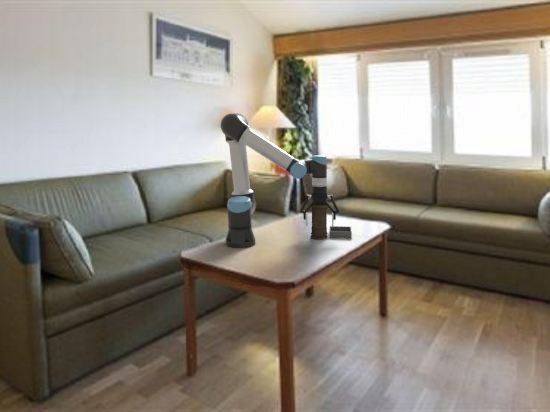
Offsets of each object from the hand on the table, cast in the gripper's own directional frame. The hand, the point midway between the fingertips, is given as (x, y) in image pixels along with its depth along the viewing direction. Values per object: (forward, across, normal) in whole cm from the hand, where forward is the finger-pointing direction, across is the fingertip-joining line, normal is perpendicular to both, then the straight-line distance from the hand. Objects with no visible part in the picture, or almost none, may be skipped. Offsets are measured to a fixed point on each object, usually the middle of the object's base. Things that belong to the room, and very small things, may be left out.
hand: (319, 225), depth 241 cm
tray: (+7, +11, +6) cm, 14 cm away
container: (+7, 0, 0) cm, 7 cm away
